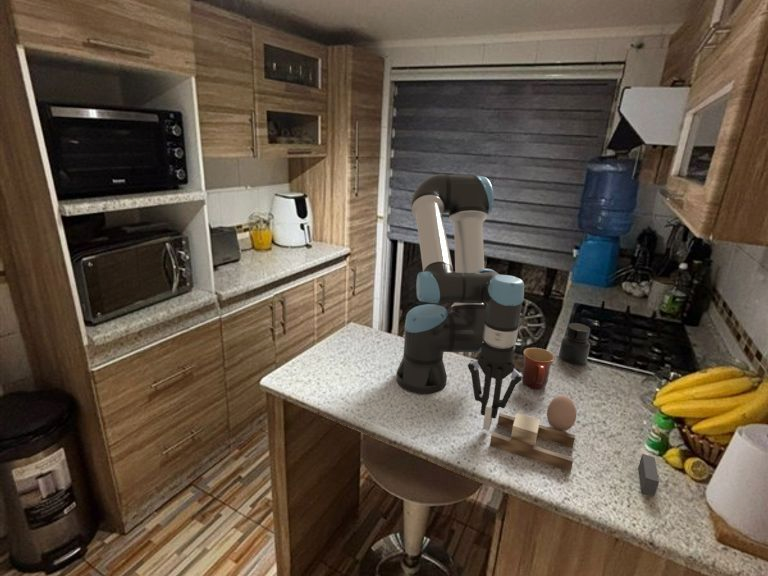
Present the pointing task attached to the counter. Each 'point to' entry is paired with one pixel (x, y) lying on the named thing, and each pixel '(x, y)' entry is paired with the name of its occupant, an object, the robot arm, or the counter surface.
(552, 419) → the egg
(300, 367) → the counter surface
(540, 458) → the chute
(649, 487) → the block
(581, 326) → the ink bottle
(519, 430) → the block
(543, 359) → the mug
